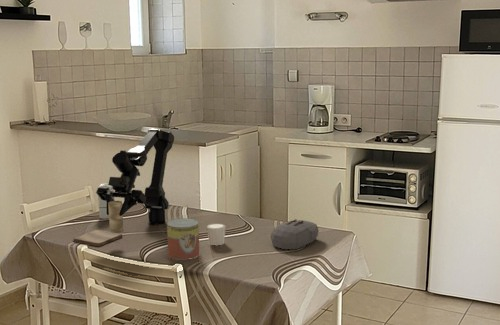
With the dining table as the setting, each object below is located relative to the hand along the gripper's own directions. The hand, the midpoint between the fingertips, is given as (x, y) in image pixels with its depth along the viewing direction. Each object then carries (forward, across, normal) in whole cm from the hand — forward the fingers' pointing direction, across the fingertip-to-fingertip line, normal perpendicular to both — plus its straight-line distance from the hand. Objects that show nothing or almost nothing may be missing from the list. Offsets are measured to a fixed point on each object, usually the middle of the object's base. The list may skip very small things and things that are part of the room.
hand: (113, 214), depth 230 cm
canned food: (+9, +28, +9) cm, 31 cm away
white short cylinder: (-2, +34, +20) cm, 40 cm away
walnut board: (+4, -12, +13) cm, 18 cm away
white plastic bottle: (-16, -25, +34) cm, 45 cm away
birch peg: (+4, 0, +6) cm, 7 cm away
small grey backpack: (-8, +62, +26) cm, 68 cm away
